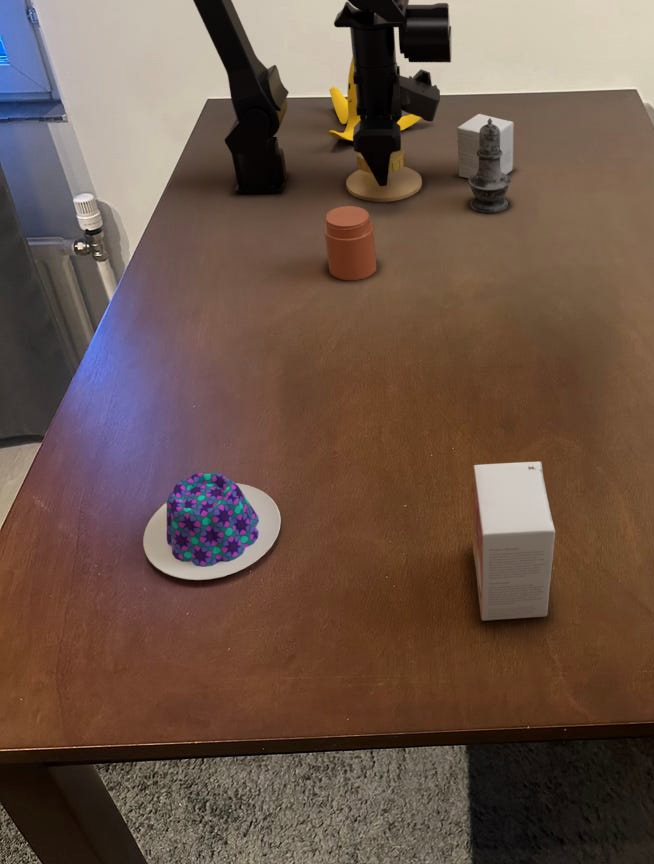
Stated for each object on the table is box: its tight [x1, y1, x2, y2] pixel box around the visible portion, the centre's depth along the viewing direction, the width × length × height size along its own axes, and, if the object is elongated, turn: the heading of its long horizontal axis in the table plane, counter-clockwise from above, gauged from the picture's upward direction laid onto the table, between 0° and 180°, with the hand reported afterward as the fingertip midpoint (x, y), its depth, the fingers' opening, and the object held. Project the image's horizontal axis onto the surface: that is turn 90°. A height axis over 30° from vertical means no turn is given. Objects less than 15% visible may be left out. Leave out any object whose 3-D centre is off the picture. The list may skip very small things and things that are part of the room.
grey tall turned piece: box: [467, 118, 512, 214], centre depth 121 cm, size 6×6×12 cm
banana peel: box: [328, 56, 422, 142], centre depth 139 cm, size 16×19×17 cm
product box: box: [456, 113, 514, 179], centre depth 130 cm, size 6×6×7 cm
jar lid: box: [356, 146, 405, 173], centre depth 127 cm, size 7×7×2 cm
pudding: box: [142, 472, 282, 581], centre depth 78 cm, size 12×12×5 cm
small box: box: [472, 461, 556, 622], centre depth 72 cm, size 8×6×10 cm
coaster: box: [345, 166, 423, 203], centre depth 130 cm, size 11×11×1 cm
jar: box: [323, 205, 378, 281], centre depth 111 cm, size 6×6×7 cm
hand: (383, 175), depth 129 cm, fingers closed on jar lid, 6 cm apart
